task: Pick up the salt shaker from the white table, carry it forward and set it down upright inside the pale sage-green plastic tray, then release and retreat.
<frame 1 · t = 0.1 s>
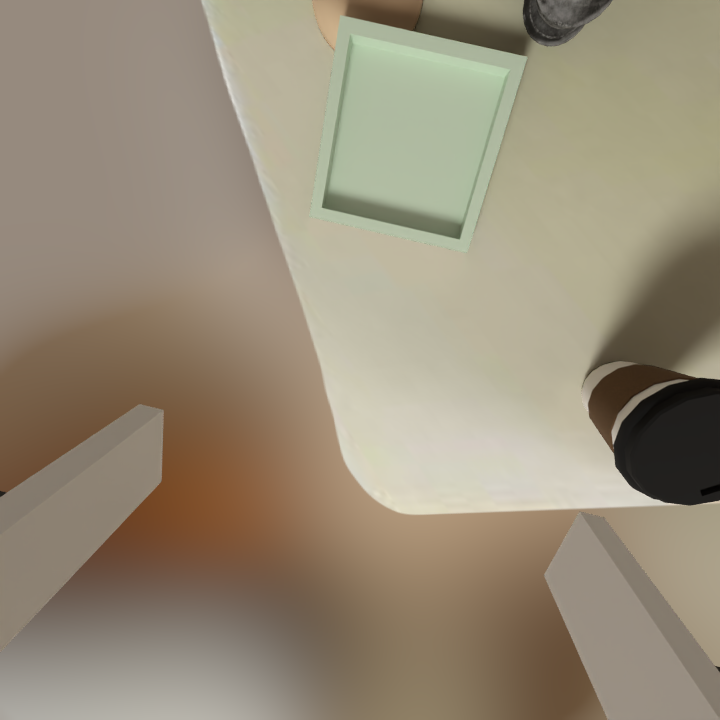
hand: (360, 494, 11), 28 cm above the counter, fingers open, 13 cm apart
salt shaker: (556, 6, 28), on the counter
tray: (407, 149, 32), on the counter
coffee cup: (610, 387, 38), on the counter
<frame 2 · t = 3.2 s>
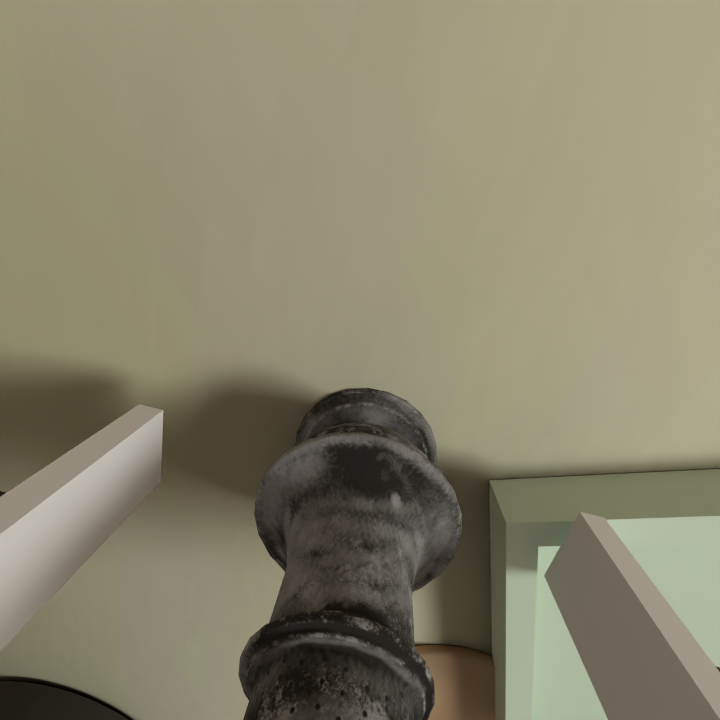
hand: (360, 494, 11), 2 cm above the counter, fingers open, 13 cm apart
cork coaster: (441, 705, 18), on the counter
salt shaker: (365, 449, 14), on the counter
tray: (678, 621, 15), on the counter
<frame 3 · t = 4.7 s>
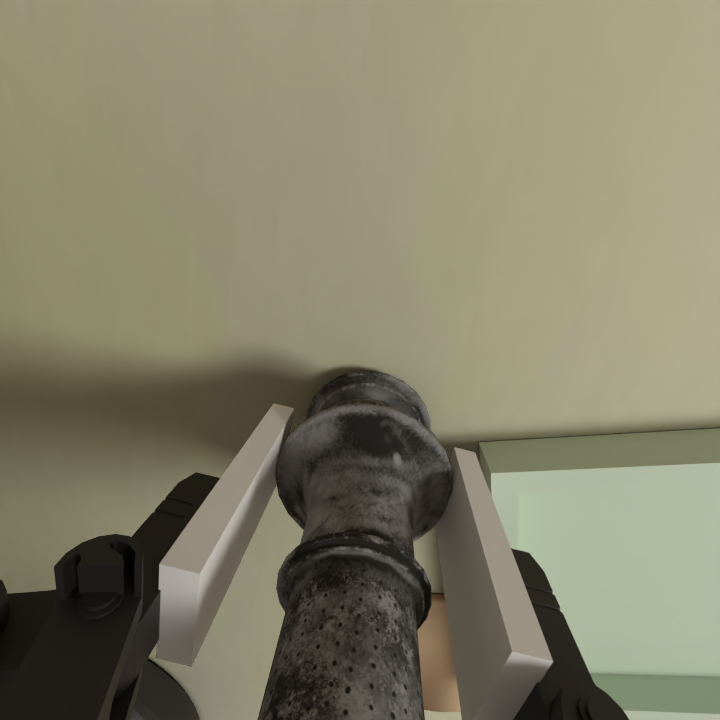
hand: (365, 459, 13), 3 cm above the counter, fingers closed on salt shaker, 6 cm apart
cork coaster: (438, 651, 20), on the counter
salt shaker: (367, 426, 15), on the counter, touching gripper
tray: (647, 570, 17), on the counter
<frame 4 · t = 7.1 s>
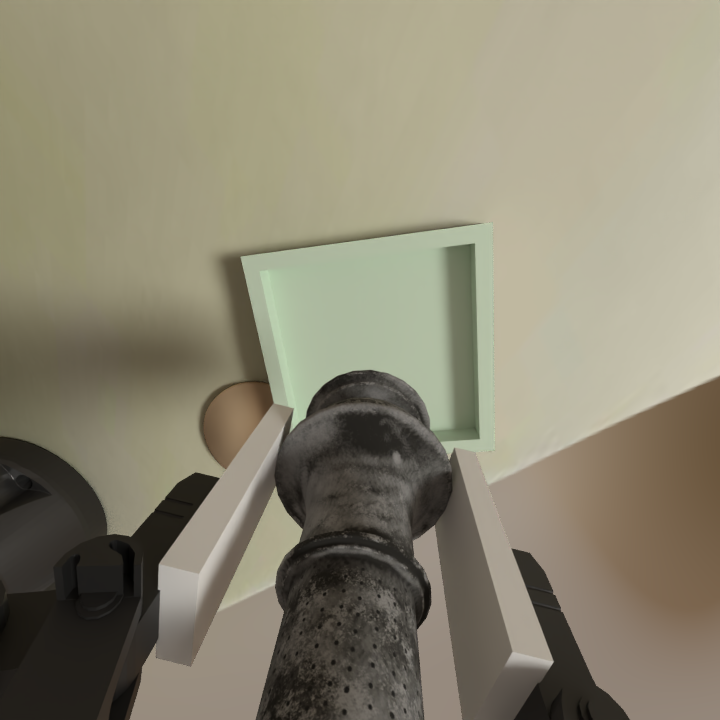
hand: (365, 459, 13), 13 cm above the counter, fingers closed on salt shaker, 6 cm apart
cork coaster: (261, 433, 28), on the counter
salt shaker: (367, 425, 15), point 11 cm above the counter, touching gripper
tray: (377, 350, 25), on the counter
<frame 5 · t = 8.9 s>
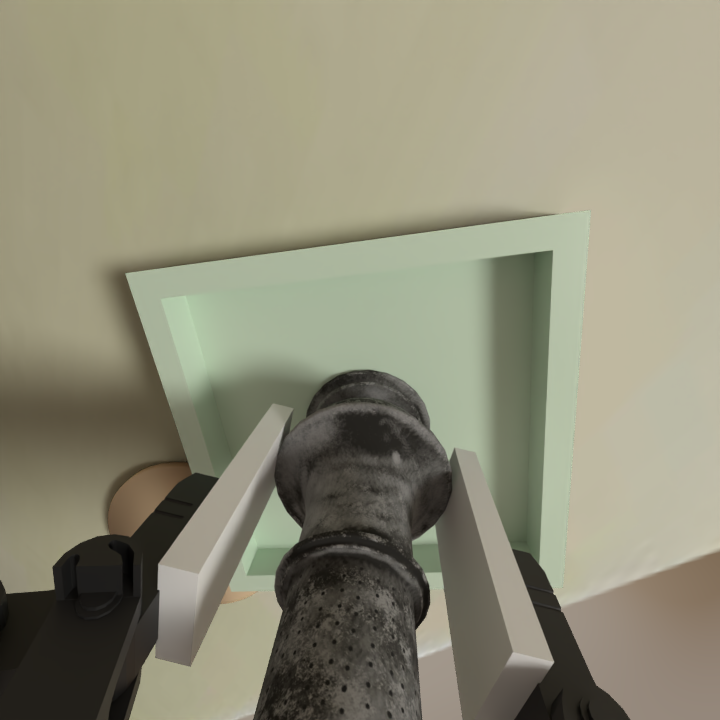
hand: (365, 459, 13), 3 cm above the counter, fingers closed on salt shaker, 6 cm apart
cork coaster: (196, 534, 19), on the counter
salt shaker: (367, 425, 15), resting on tray, touching gripper
tray: (370, 420, 16), on the counter
when the fingers open (3 cm above the counter, at t = 9.5 s): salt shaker stays where it is, resting on tray.
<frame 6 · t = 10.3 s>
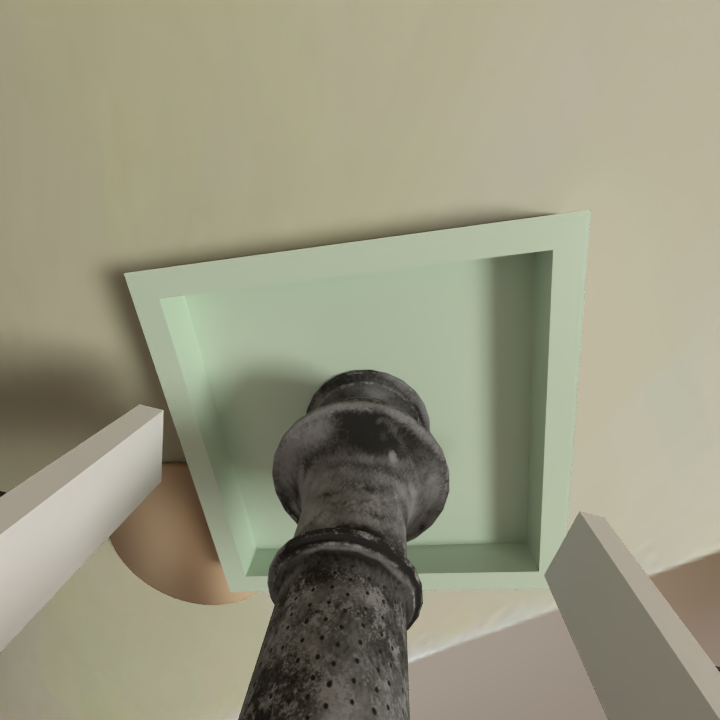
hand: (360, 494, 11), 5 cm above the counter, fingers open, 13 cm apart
cork coaster: (196, 534, 19), on the counter
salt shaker: (367, 425, 15), resting on tray
tray: (370, 420, 16), on the counter
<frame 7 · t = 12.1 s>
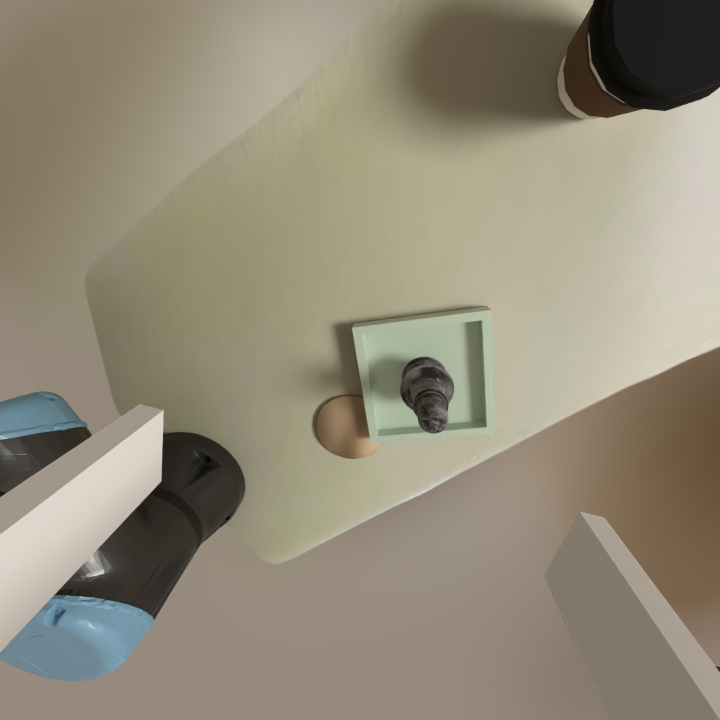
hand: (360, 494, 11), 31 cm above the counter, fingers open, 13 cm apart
cork coaster: (351, 426, 46), on the counter
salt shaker: (424, 376, 42), resting on tray
tray: (424, 375, 43), on the counter
coffee cup: (591, 79, 32), on the counter
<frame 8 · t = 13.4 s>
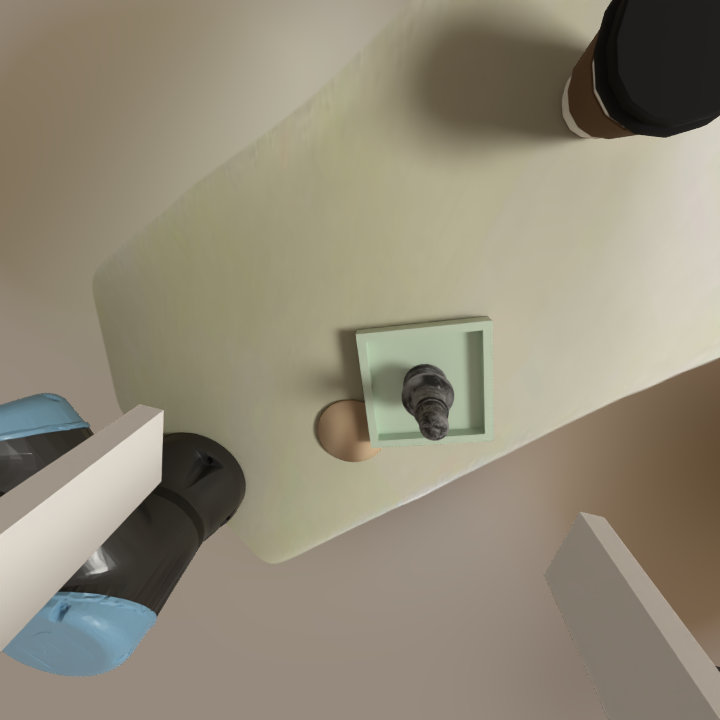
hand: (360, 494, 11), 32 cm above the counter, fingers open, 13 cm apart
cork coaster: (352, 430, 47), on the counter
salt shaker: (424, 383, 43), resting on tray
tray: (425, 382, 44), on the counter
coffee cup: (594, 100, 33), on the counter
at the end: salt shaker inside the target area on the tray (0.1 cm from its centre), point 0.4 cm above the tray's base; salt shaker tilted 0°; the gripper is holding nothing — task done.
